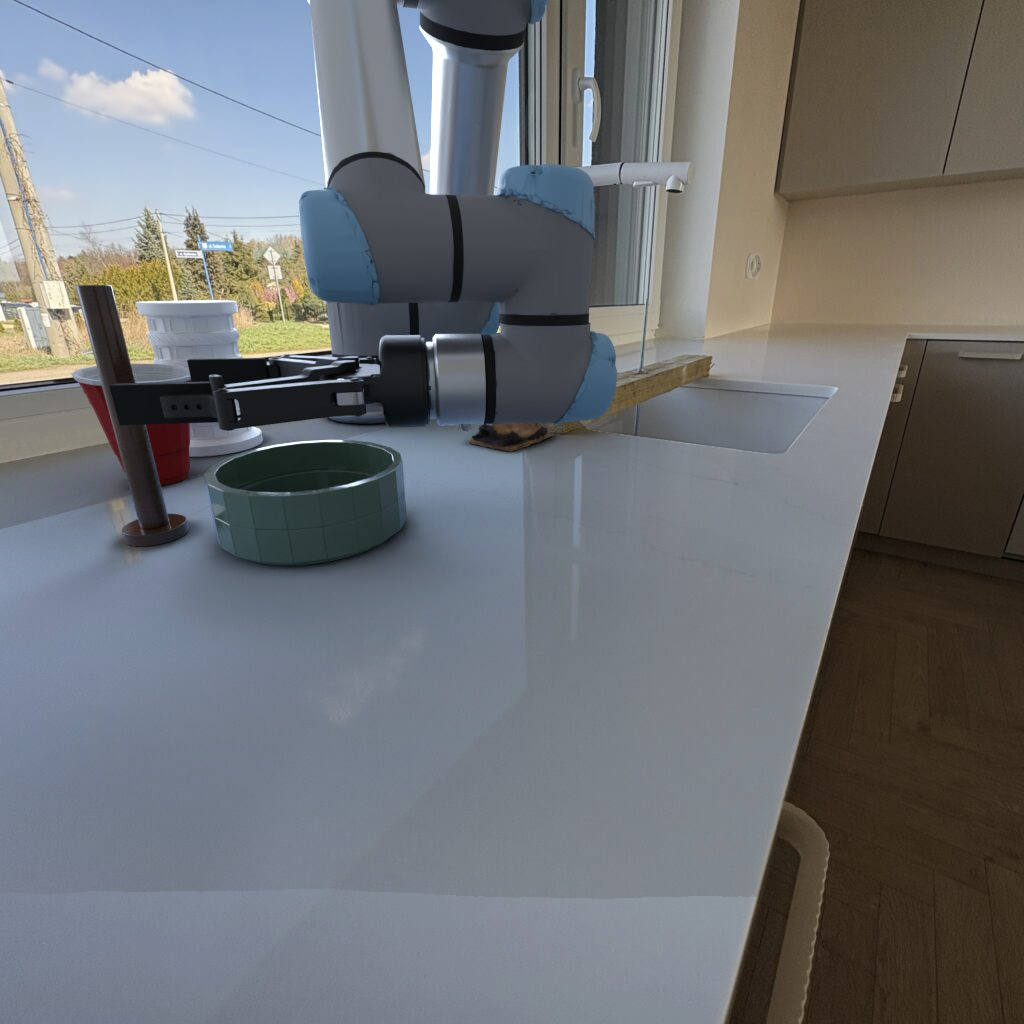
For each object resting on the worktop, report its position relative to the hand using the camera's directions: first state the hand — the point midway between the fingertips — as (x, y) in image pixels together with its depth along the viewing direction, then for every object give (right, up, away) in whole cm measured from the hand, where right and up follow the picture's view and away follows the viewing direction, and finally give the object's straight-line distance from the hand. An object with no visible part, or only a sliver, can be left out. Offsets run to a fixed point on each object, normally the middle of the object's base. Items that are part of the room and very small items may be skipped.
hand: (158, 387), depth 45 cm
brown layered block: (+28, 0, +34) cm, 44 cm away
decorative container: (-12, -1, +31) cm, 33 cm away
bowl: (+11, -11, +5) cm, 16 cm away
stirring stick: (-3, -12, +4) cm, 13 cm away
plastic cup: (-11, -6, +18) cm, 22 cm away
